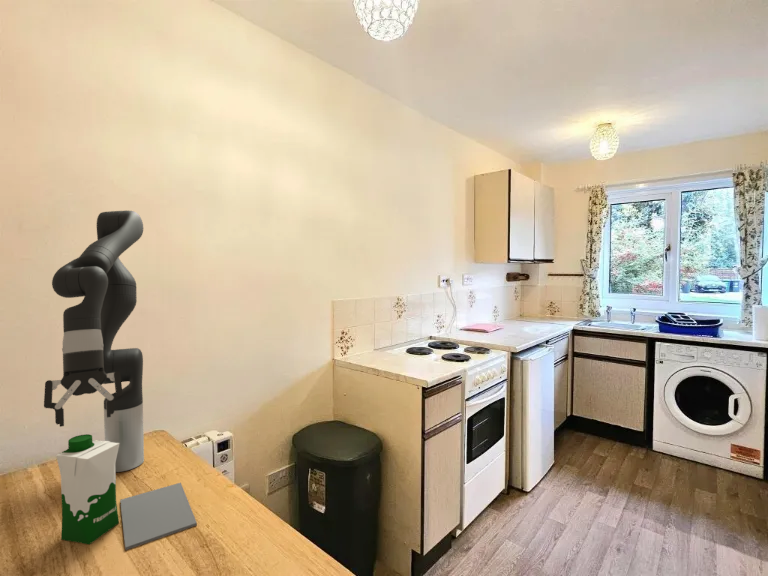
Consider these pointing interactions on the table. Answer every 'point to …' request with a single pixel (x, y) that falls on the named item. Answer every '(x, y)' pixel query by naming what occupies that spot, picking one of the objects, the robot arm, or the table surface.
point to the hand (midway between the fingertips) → (85, 421)
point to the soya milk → (88, 488)
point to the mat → (155, 515)
